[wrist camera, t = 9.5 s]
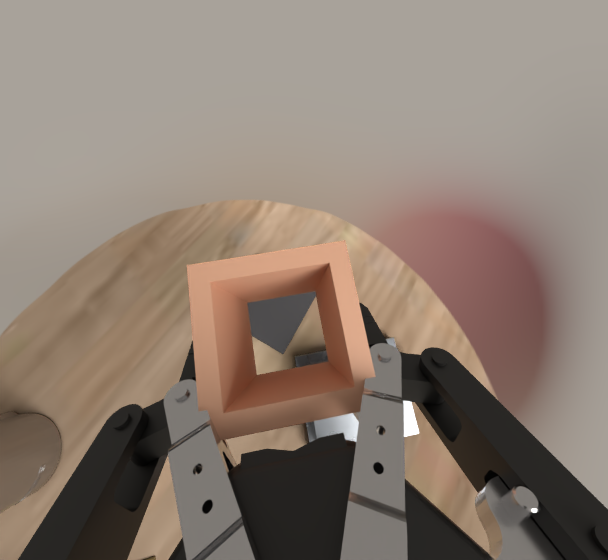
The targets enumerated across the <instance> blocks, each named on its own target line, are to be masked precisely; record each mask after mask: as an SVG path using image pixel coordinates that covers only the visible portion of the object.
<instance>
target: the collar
mask: <svg viewBox="0 0 608 560" xmlns="http://www.w3.org/2000/svg"><path fill="white" fill-rule="evenodd" d="M187 273H188V286H189V298H190V311H191V323H192V336H193V348H194V361H195V373H196V386H197V398H198V410H199V411H204V410H207V411H208V413H209V415H210V417H211V420H212V422H213V424H214V426H215V429H216V431H217V433H218V435H219V437H220V440H225V439H230V438H235V437H239V436H244V435H249V434H254V433H259V432H264V431H268V430H273V429H278V428H283V427H288V426H293V425H297V424H302V423H307V422H312V421H317V420H322V419H327V418H331V417H336V416H341V415H346V414H351V413H356V412H360V410H361V402H362V395H363V391H364V384H365V379H366V378H371V377H376V376H375V372H374V367H373V363H372V358H371V354H370V349H369V345H368V340H367V336H366V331H365V327H364V322H363V318H362V313H361V309H360V304H359V300H358V295H357V291H356V286H355V282H354V277H353V273H352V268H351V264H350V259H349V255H348V250H347V246H346V242H345V240H344V241H338V242H331V243H325V244H319V245H312V246H306V247H299V248H293V249H287V250H280V251H274V252H267V253H261V254H255V255H248V256H242V257H236V258H229V259H223V260H216V261H210V262H204V263H197V264H191V265H187ZM314 291H315V292H316V297H317V303H318V308H319V313H320V319H321V324H322V329H323V335H324V340H325V345H326V351H327V356H328V361H329V362H323V363H318V364H313V365H308V366H302V367H297V368H292V369H287V370H281V371H276V372H271V373H266V374H260V375H257V374H256V366H255V359H254V351H253V343H252V335H251V327H250V320H249V312H248V304H247V303H249V302H255V301H261V300H267V299H273V298H279V297H285V296H291V295H296V294H302V293H308V292H314Z"/></svg>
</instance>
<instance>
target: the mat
mask: <svg viewBox="0 0 608 560" xmlns="http://www.w3.org/2000/svg"><path fill="white" fill-rule="evenodd" d="M315 296H316V292H315V291H314V292H308V293H302V294H296V295H291V296H285V297H279V298H273V299H267V300H261V301H255V302H249V303H247V304H248V312H249V320H250V327H251V335H252V336H253V337H255V338H257V339H258V340H260V341H262V342H264V343H265V344H267V345H269V346H270V347H272V348H274V349H275V350H277V351H279V352H280V353H282V354H284V352H285V350H286V348H287V346H288V345H289V343H290V341H291V339H292V337H293V336H294V334H295V332H296V330H297V329H298V327H299V325H300V323H301V321H302V320H303V318H304V316H305V314H306V312H307V311H308V309H309V307H310V305H311V303H312V302H313V300H314V298H315Z"/></svg>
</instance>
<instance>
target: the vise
mask: <svg viewBox="0 0 608 560" xmlns="http://www.w3.org/2000/svg"><path fill="white" fill-rule="evenodd" d="M385 339H386V341H387V342H388V344H389V345H392V346H393V347H395V348H396V345H395V341H394V338H391V337H389V338H385ZM397 350H398V349H397ZM295 361H296V367H302V366H308V365H313V364H318V363H323V362H329V361H328V356H327V351H326V350H322V351H317V352H312V353H307V354H302V355H297V356H295ZM403 403H404V437H405V436H410V435H414V434H419V430H418V426H417V423H416V419H415V415H414V411H413V407H412V403H411V402H410V401H403ZM359 417H360V412H356V413H351V414H346V415H341V416H336V417H331V418H327V419H322V420H317V421H312V422H307V423H306V426H307V432H308V437H309V443H310V442H312V441H314V440H316V439H317V438H320V437H325V436H329V435H334V434H339V433H344V436H345V440H350V441H354V442H356V440H357V433H358V425H359Z"/></svg>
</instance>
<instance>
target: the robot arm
mask: <svg viewBox="0 0 608 560" xmlns="http://www.w3.org/2000/svg"><path fill="white" fill-rule="evenodd" d="M359 304H360V309H361V313H362V318H363V322H364V327H365V331H366V336H367V340H368V345H369V349H370V354H371V358H372V363H373V367H374V372H375V376H376V377H371V378H366V379H365V384H364V391H363V395H362V402H361V410H360V417H359V425H358V433H357V440H356V442H354V441H350V440H345V436H344V433H339V434H334V435H329V436H325V437H320V438H317V439H316V440H314V441H312V442H310V443H308V444H306V445H304V446H303V447H301V448H299V449H297V450H295V451H287V450H276V449H263V450H259V451H254V452H249V453H244V454H241V463H240V464H238V465H237V464H236V462H235V460H234V458H233V456H232V454H231V451H230V449H229V446H228V444H227V441H226V439H225V440H220V437H219V435H218V433H217V431H216V429H215V426H214V424H213V422H212V420H211V417H210V415H209V413H208V411H207V410H204V411H199V410H198V398H197V386H196V373H195V361H194V348H193V341H192V344H191V349H190V350H189V353H188V356H187V359H186V362H185V365H184V368H183V372H182V375H181V378H180V381H179V382H178V383H177V384H175V385H174V386H173V387H172V388H171V389H170V390H169V391H168V392H167V394H166V396H165V398H164V399H162V400H161V401H159V402H157V403H154V404H152V405H150V406H148V407H146V408H144V409H142V408H141V407H140V406H139V405H136V404H131V405H127V406H125V407H122V408H121V409H119V410H118V411H116V412H115V413H114V414H113V415H112V416H111V417H110V418H109V419H108V420H107V421H106V423H105V424H104V426H103V427H102V429H101V430H100V432H99V434H98V435H97V437H96V438H95V440H94V441H93V443H92V445H91V446H90V448H89V449H88V451H87V452H86V454H85V456H84V457H83V459H82V460H81V462H80V463H79V465H78V467H77V468H76V470H75V471H74V473H73V474H72V476H71V477H70V479H69V481H68V482H67V484H66V485H65V487H64V488H63V490H62V492H61V493H60V495H59V496H58V498H57V499H56V501H55V503H54V504H53V506H52V507H51V509H50V510H49V512H48V514H47V515H46V517H45V518H44V520H43V521H42V523H41V524H40V526H39V528H38V529H37V531H36V532H35V534H34V535H33V537H32V539H31V540H30V542H29V543H28V545H27V546H26V548H25V550H24V551H23V553H22V554H21V556H20V557H19V559H18V560H127V558H128V556H129V553H130V551H131V548H132V545H133V543H134V540H135V538H136V535H137V533H138V530H139V527H140V525H141V522H142V520H143V517H144V515H145V512H146V509H147V507H148V504H149V502H150V499H151V497H152V494H153V491H154V489H155V486H156V484H157V481H158V479H159V476H160V474H161V471H162V468H163V466H164V463H165V461H166V458H167V456H168V457H169V463H170V469H171V474H172V480H173V486H174V491H175V497H176V502H177V508H178V514H179V519H180V525H181V530H182V536H183V537H182V539H181V541H180V542H179V544H178V545H177V547H176V548H175V550H174V552H173V553H172V555H171V556H170V558H169V560H608V509H607V508H606V507H604V505H603V504H602V503H601V502H600V501H598V500H597V499H596V497H594V495H592V494H591V493H590V492H589V491H588V490H587V489H586V488H585V487H584V486H583V485H582V484H581V483H580V482H579V481H578V480H577V479H576V478H575V477H574V476H573V475H572V474H571V473H570V472H569V471H568V470H567V469H566V468H565V467H564V466H563V465H562V464H561V463H560V462H559V461H558V460H557V459H556V458H555V457H554V456H553V455H552V454H551V453H550V452H549V451H548V450H547V449H546V448H545V447H544V446H543V445H542V444H541V443H540V442H539V441H538V440H537V439H536V438H535V437H534V436H533V435H532V434H531V433H530V432H529V431H528V430H527V429H526V428H525V427H524V426H523V425H522V424H521V423H520V422H519V421H518V420H517V419H516V418H515V417H514V416H513V415H512V414H511V413H510V412H509V411H508V410H507V409H506V408H505V407H504V406H503V405H502V404H501V403H500V402H499V401H498V400H497V399H496V398H495V397H494V396H493V395H492V394H491V393H490V392H489V391H488V390H487V389H486V388H485V387H484V386H483V385H482V384H481V383H480V382H479V381H478V380H477V379H476V378H475V377H474V376H473V375H472V374H471V373H470V372H469V371H468V370H467V369H466V368H465V367H464V366H463V365H462V364H461V363H460V362H459V361H458V360H457V359H456V358H455V357H454V356H453V355H451V354H450V353H449V352H447V351H445V350H443V349H440V348H427V349H425V350H424V351H423V352H422V354H421V355H416V354H406V353H402V352H399V351H398V350H397V349H396V348H395V347H393V346H392V345H389V344H388V342H387V341H386V339H385V337H384V336H383V334H382V332H381V330H380V329H379V327H378V325H377V323H376V322H375V320H374V318H373V317H372V315H371V313H370V311H369V310H368V308H367V307H365V306H364V305H363V304H361V303H359ZM403 401H410V402H415V403H416V404H417V406H418V407H419V409H420V410H421V412H422V413H423V414H424V416H425V417H426V419H427V420H428V422H429V423H430V424H431V426H432V427H433V429H434V430H435V432H436V433H437V435H438V436H439V437H440V439H441V440H442V442H443V443H444V445H445V446H446V447H447V449H448V450H449V452H450V453H451V455H452V456H453V458H454V459H455V460H456V462H457V463H458V465H459V466H460V468H461V469H462V471H463V472H464V473H465V475H466V476H467V478H468V479H469V481H470V482H471V483H472V485H473V486H474V488H475V489H476V491H477V492H478V494H477V496H476V499H475V507H476V512H477V515H478V517H479V519H480V521H481V523H482V525H483V527H484V529H485V531H486V534H487V536H488V540H489V546H490V554H488V553H487V552H486V551H485V550H484V549H483V548H482V547H480V546H479V545H478V544H477V543H476V542H475V541H474V540H473V539H472V538H470V537H469V536H468V535H467V534H466V533H465V532H464V531H463V530H461V529H460V528H459V527H458V526H457V525H456V524H455V523H454V522H453V521H451V520H450V519H449V518H448V517H447V516H446V515H445V514H444V513H443V512H441V511H440V510H439V509H438V508H437V507H436V506H435V505H434V504H433V503H431V502H430V501H429V500H428V499H427V498H426V497H425V496H424V495H423V494H421V493H420V492H419V491H418V490H417V489H416V488H415V487H414V486H412V485H411V484H410V483H409V482H408V481H407V480H406V479H405V462H404V403H403ZM60 453H61V439H60V435H59V432H58V430H57V428H56V426H55V425H54V424H53V422H52V421H51V420H49V419H48V418H47V417H45V416H42V415H40V414H34V413H28V414H16V413H15V412H13V411H10V412H7V413H3V414H0V513H2V512H3V511H5V510H7V509H8V508H10V507H11V506H13V505H16V504H17V503H19V502H20V501H22V500H23V499H25V498H26V497H28V496H29V495H31V494H33V493H34V492H36V491H38V490H39V489H40V488H41V487H42V486H43V485H44V484H45V483H46V482H47V481H48V480H49V478H50V477H51V476H52V474H53V472H54V471H55V469H56V467H57V464H58V461H59V458H60Z"/></svg>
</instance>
